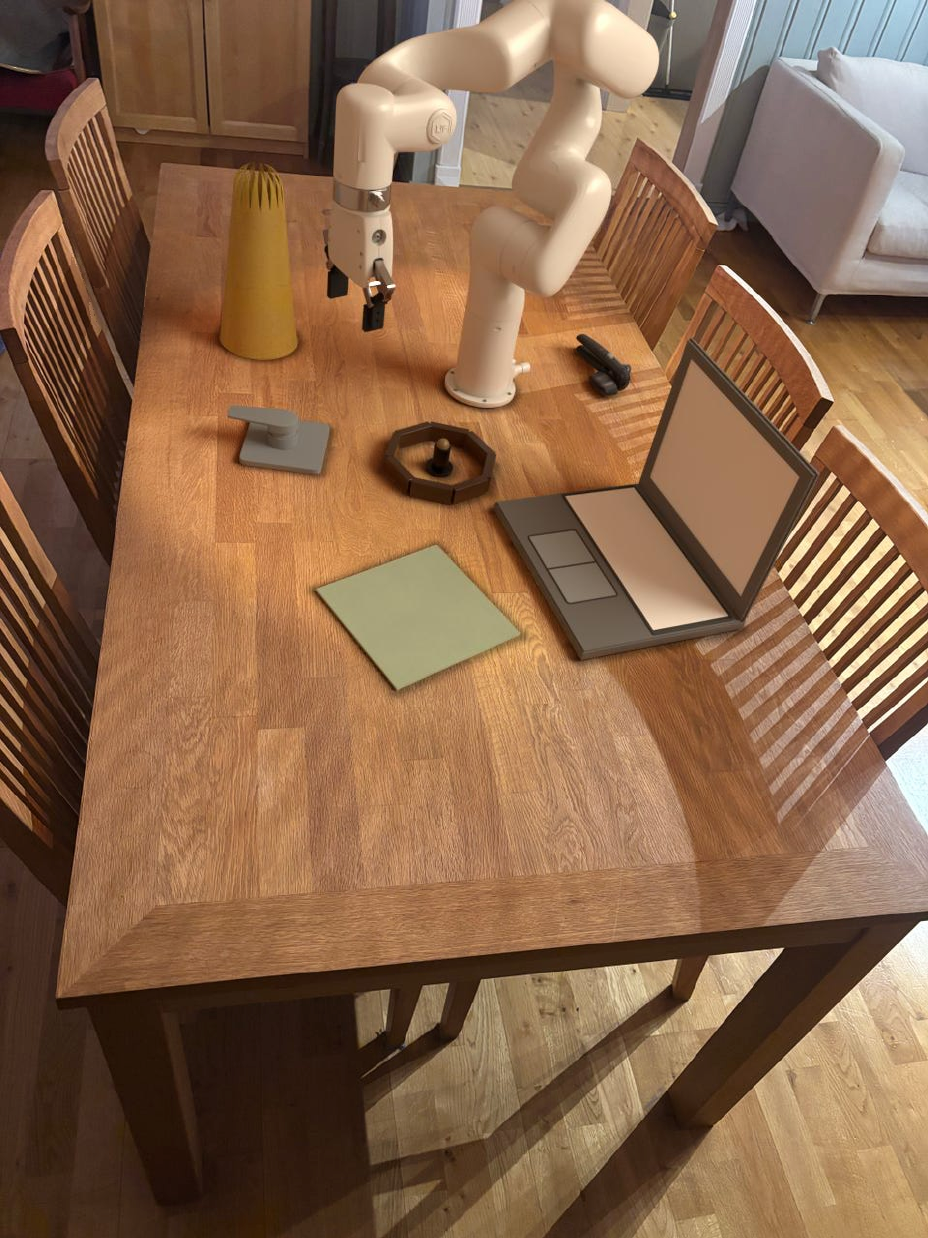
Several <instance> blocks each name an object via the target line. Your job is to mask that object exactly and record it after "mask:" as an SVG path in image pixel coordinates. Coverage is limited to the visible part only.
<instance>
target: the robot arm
mask: <svg viewBox="0 0 928 1238" xmlns="http://www.w3.org/2000/svg"><path fill="white" fill-rule="evenodd" d="M549 61H552V65H553V67H552V68H553V90H552V96H551V99H550V103H549V106H548V107H547V110H546V112H545V114H544V117H543V119H542V120H541V122H540V124H539V126H538V128H537V130H536V131H535V133H534V134H533V137H532V139H531V140H530V142H529V144H528V146H527V147H526V149H525V151H524V153H523V155H522V157H521V158H520V159H519V162H518V164H517V166H516V168H515V170H514V173H513V176H512V178H511V179H512V180H511V190H512V193H513V194H514V196H515V197H516V198H517V200H518V201H520V202H521V203H522V204H523V205H525V206H527V207H528V208H530V209H532V210H534V211H535V212H537V213H539V214H541V215H542V216H544V217H547V218H548V219H550V220H551V221H553V222H552V224H551V226H550V227H549V228H548V227H546V226H545V225H542V224H541V223H539V222H538V221H536V220H534V219H533V218H532V217H529V216H527V215H526V214H523V213H522V212H520V211H518V210H516V209H513V208H512V207H508V206H504V205H494V206H489V207H487V208H485V209H484V210H482V211H481V212H480V213H478V215H477V217H476V218H475V220H474V222H473V224H472V226H471V229H470V233H469V243H468V249H469V250H468V251H469V252H468V253H469V281H468V288H467V294H466V295H467V296H466V302H465V307H464V313H463V319H462V325H461V331H460V337H459V344H458V345H459V346H458V352H457V357H456V364H455V365H456V366H454V367H452V368H451V369H449V370H448V371H447V373H446V374H445V377H444V387H445V390H446V391H447V392H448V393H447V394H449V395H450V396H451V397H452V398H454V399H455V400H457V401H458V402H461V403H463V404H465V405H468V406H471V407H475V408H481V409H493V408H499V407H503V406H505V405H507V404H509V403H510V402H512V400H513V399H514V397H515V395H516V390H517V389H516V384H515V382H514V379H515V378H517V377H518V376H519V375H524V374H527V373H530V371H531V365H530V363H529V362H528V361H523V362H519V363H517V361H516V359H515V357H514V355H515V350H516V345H517V341H518V336H519V331H520V326H521V320H522V317H523V313H524V308H525V299H526V298H525V297H526V293H525V292H527V293H529V294H530V295H533V296H535V297H538V298H544V299H546V298H549V297H552V296H554V295H556V294H557V293H558V292H559V291H560V290H561V289H562V288H563V287H564V285H565V284H566V283H567V281H568V280H569V279H570V277H571V275H572V274H573V272H574V271H575V269H576V267H577V266H578V264H579V263H580V260H581V259H582V257H583V255H584V254H585V252H586V250H587V249H588V247H589V245H590V243H592V240H593V238H594V237H595V236H596V233H597V231H598V230H599V228H600V226H601V224H602V223H603V221H604V219H605V217H606V215H607V213H608V210H609V207H610V204H611V199H612V184H611V180H610V178H609V176H608V174H607V173H606V172H605V171H604V170H603V169H602V168H600V167H598V166H597V165H595V164H593V163H591V162H589V161H588V160H586V159H587V157H588V155H589V153H590V151H591V149H592V147H593V145H594V143H595V142H596V140H597V137H598V136H599V133H600V130H601V127H602V121H603V105H602V97H601V90H603V91H605V92H607V93H610V94H611V95H613V96H616V97H618V98H621V99H624V100H625V99H626V100H630V99H634V98H637V97H639V96H641V95H643V93H645V92H646V91H647V90H649V88H650V86H651V85H652V83H653V82H654V80H655V78H656V75H657V73H658V69H659V65H660V52H659V47H658V44H657V41H656V40H655V38H654V37H653V36H652V35H651V33H649V32H648V31H647V30H646V29H644V28H643V27H641V26H640V25H639V24H637V23H636V22H635V21H633V20H632V19H631V18H630V17H628V16H627V15H626V14H625V13H623V11H621V10H620V9H618V8H617V7H616V6H614V5H613V4H612V3H610V2H608V1H607V0H512V1H511V2H509V3H508V4H506V5H505V6H502V8H500V9H499V10H497V11H495V12H494V13H492V14H491V15H489V16H488V17H486V18H485V19H483V20H482V21H480V22H478V23H476V24H474V25H470V26H464V27H455V28H451V29H446V30H441V31H435V32H430V33H425V34H421V35H417V36H414V37H411V38H409V39H407V40H404V41H402V42H400V43H398V44H396V45H395V46H393V47H392V48H390V49H389V50H387V51H385V52H384V53H382V54H381V55H379V56H378V57H377V58H375V59H374V60H373V61H372V62H371V63H370V64H368V65H367V66H366V67H365V69H364V70H363V71H362V73H361V74H360V76H359V77H358V80H357V82H356V83H351V84H347V85H344V86H343V87H342V88H341V89H340V90H339V92H338V93H337V96H336V103H335V120H334V121H335V123H334V148H333V152H334V153H333V176H332V196H331V197H332V199H331V207H330V213H329V223H328V228H325V229H322V237H323V243H324V247H323V248H324V249H323V250H324V251H323V252H324V253H325V256H326V259H327V260H326V262H325V267H326V270H327V279H326V280H327V281H326V282H327V283H326V284H327V285H326V297H327V298H328V299H330V300H331V299H336V298H341V297H347V296H348V294H349V282H350V281H351V282H353V283H354V284H355V285H357V286H358V287H359V288H362V292H363V296H364V298H365V304H363V306H362V307H363V308H362V318H361V319H362V321H361V330H362V331H363V332H364V333H369V332H373V331H377V330H381V329H383V328H384V325H385V324H384V323H385V312H386V305H388V303H389V302H390V301H391V300H392V296H393V294H394V292H395V291H396V283H395V282H394V280H393V279H392V277H393V263H394V262H393V261H394V230H393V219H392V212H391V211H390V209H391V198H392V186H393V171H394V161H395V160H394V158H395V154H396V153H428V152H432V151H436V150H439V149H440V148H442V147H443V146H444V145H445V144H447V143H448V142H449V141H450V139H452V137H453V135H454V132H455V131H456V128H457V123H458V122H457V121H458V115H457V109H456V107H455V104H454V102H453V101H452V99H451V98H450V97H449V96H448V95H447V94H446V93H445V92H444V91H445V90H446V91H447V90H450V91H463V92H469V93H470V92H471V93H487V94H489V93H501V92H504V91H506V90H509V89H510V88H511V87H513V86H515V85H516V84H517V83H519V82H520V81H521V80H523V79H524V78H525V77H527V76H529V75H530V74H532V73H533V72H534V71H536V70H537V69H539V68H540V67H542V66H543V65H545V64H547V63H548V62H549ZM372 278H375V280H373V281H370V280H371V279H372ZM349 280H350V281H349ZM371 288H376V289H377V290H376V291H377V292H376V293H375V295H373V292H372V290H371ZM516 363H517V364H516Z"/></svg>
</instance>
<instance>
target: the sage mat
mask: <svg viewBox="0 0 928 1238" xmlns="http://www.w3.org/2000/svg"><path fill="white" fill-rule="evenodd" d="M315 592H316V593H317V594H318V595H319V597H320V598H321V599H322V600H323V602H324V603H325V604H326V605H327V606H328V608H329V609H330V610H331V611H332V613H333V614H334V616H336V618H337V619H338V620H339V622H340V623H341V624H342V625H343V626H344V628H345V629H346V630H347V631H348V632H349V634H350V635H351V636H352V638H353V639H354V640H355V641H356V642H357V644H358V645H359V646H360V647H361V648H362V650H363V651H364V653H366V655H367V656H368V657H369V658H370V660H371V661H372V662H373V663H374V665H375V666H376V667H377V668H378V670H379V671H380V672H381V674H382V675H383V676H384V677H385V678H386V680H387V681H388V682H389V683H390V685H391V686H392V687H393V688H394V689H395V691H399V690H402V689H404V688H406V687H408V686H410V685H413V684H415V683H417V682H419V681H422V680H424V679H426V678H427V677H430V676H433V675H435V674H437V673H440V672H442V671H445V670H446V669H449V668H450V667H452V666H455V665H457V664H459V663H461V662H465V661H466V660H469V659H471V658H473V657H475V656H478V655H479V654H482V653H484V652H486V651H488V650H490V649H493V648H495V647H497V646H499V645H502V644H504V643H506V642H508V641H510V640H513V639H515V638H518V637H519V636H521V632H520V631H519V630H518V628H516V626H514V624H513V623H512V622H511V621H510V620H509V619H508V618H507V617H506V616H505V615H504V613H502V611H500V609H498V608H497V607H496V606H495V604H494V603H493V602H492V601H491V600H490V599H489V598H488V597H487V596H486V595H485V594H484V593H483V592H482V591H481V589H479V587H478V586H477V585H476V584H475V583H474V582H473V581H472V580H471V579H470V578H469V577H468V576H467V575H466V574H465V573H464V572H463V571H462V569H460V568H459V566H458V565H457V564H456V563H455V562H454V561H453V560H452V559H451V558H450V557H449V556H448V554H447V553H445V551H443V550H442V549H441V548H440V546H439V545H438V544H434V545H431V546H429V547H426V548H422V549H421V550H418V551H415V552H412V553H410V554H408V555H405V556H401V557H399V558H396V559H394V560H391V561H388V562H385V563H382V564H380V565H378V566H374V567H372V568H369V569H367V570H364V571H361V572H359V573H355V574H353V575H350V576H348V577H347V576H346V577H345V578H342V579H339V580H336V581H334V582H331V583H328V584H326V585H323V586H320V587H318V588H317V587H316V589H315Z"/></svg>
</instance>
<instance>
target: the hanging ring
mask: <svg viewBox="0 0 928 1238" xmlns="http://www.w3.org/2000/svg"><path fill="white" fill-rule="evenodd" d="M440 439H446V440H447V441H448V442H449V444H450V446H454V447H455V446H456V447H459V448H463V449H465V450H466V451H467V452H468V453H469V454H470V455H471V456H472V457H473V458H474V459H475V460H476V461H478V462H479V464H481V465H482V466H483V472H482V474H481V475H478V476H475V477H471V478H469V479H466V480H463V481H460V482H457V483H454V484H449V483H444V482H440V481H436V480H435V481H434V480H430V479H427V478H426V479H425V478H422V477H416V476H414V475H413V474H412V472H410V470H409V469H407V468H406V466H404V465H403V464H402V463H401V461H399V459H398V458H397V457H398V455H399V452H400V450H402V449H405V448H407V447H411V446H415V445H418V444H421V443H424V442H427V441H432V442H435V443H436V442H438V440H440ZM496 458H497V453H496V451H495V450H494V449H492V448H491V447H490V445H488V444H487V443H486V442H485V441H484V440H482V438H480V436H479V435H478V434H476V433H475V432H474V431H473V430H470V429H469V428H464V427H460V426H455V425H452V424H451V425H450V424H446V423H442V422H436V421H432V420H431V421H430V422H429V420H427V421H424V422H421V423H417V424H413V425H410V426H406V427H403V428H400V429H399V428H398V429H396V430H395V431H394V432H392V434H391V437H390V440H389V442H388V445H387V448H386V451H385V453H384V457H383V472H384V473H385V474H386V475H387V476H388V477H389V478H390V480H392V481H393V482H394V483H395V485H397V487H398V488H399V489H401V491H402V492H403V493H404V494H405V495H406V496H407V495H408V496H409V497H411V498H417V499H421V500H425V501H429V502H434V503H440V504H443V505H448V506H450V505H453V506H456V505H457V504H461V503H462V502H466V501H469V500H471V499H475V498H477V497H480V496H483V495H486V494H487V493H489V490H490V485H491V481H492V477H493V472H494V468H495V464H496V460H497V459H496Z"/></svg>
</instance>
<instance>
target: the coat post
mask: <svg viewBox="0 0 928 1238" xmlns="http://www.w3.org/2000/svg"><path fill="white" fill-rule="evenodd" d="M451 449H452V445H450V444H449V442H448V441H447V440H446V439H440V440H438V442H436V441H435V443H434V444H433V451H432V452H433V453H432V457H431V458H429V459H428V460H427V461H426V462H425V471H426V472H427V473H428V474H429V475H431V476H433V477H436V478H446V477H449V476H450V475H452V473H453V471H454V464H453V463H452V462H451V461H450V455H451Z"/></svg>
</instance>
